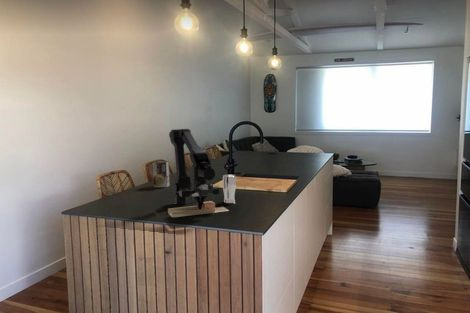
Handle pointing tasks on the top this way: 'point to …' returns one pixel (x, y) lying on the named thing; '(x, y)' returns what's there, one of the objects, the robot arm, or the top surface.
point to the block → (209, 206)
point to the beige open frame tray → (192, 211)
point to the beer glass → (229, 188)
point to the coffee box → (161, 173)
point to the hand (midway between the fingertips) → (199, 209)
